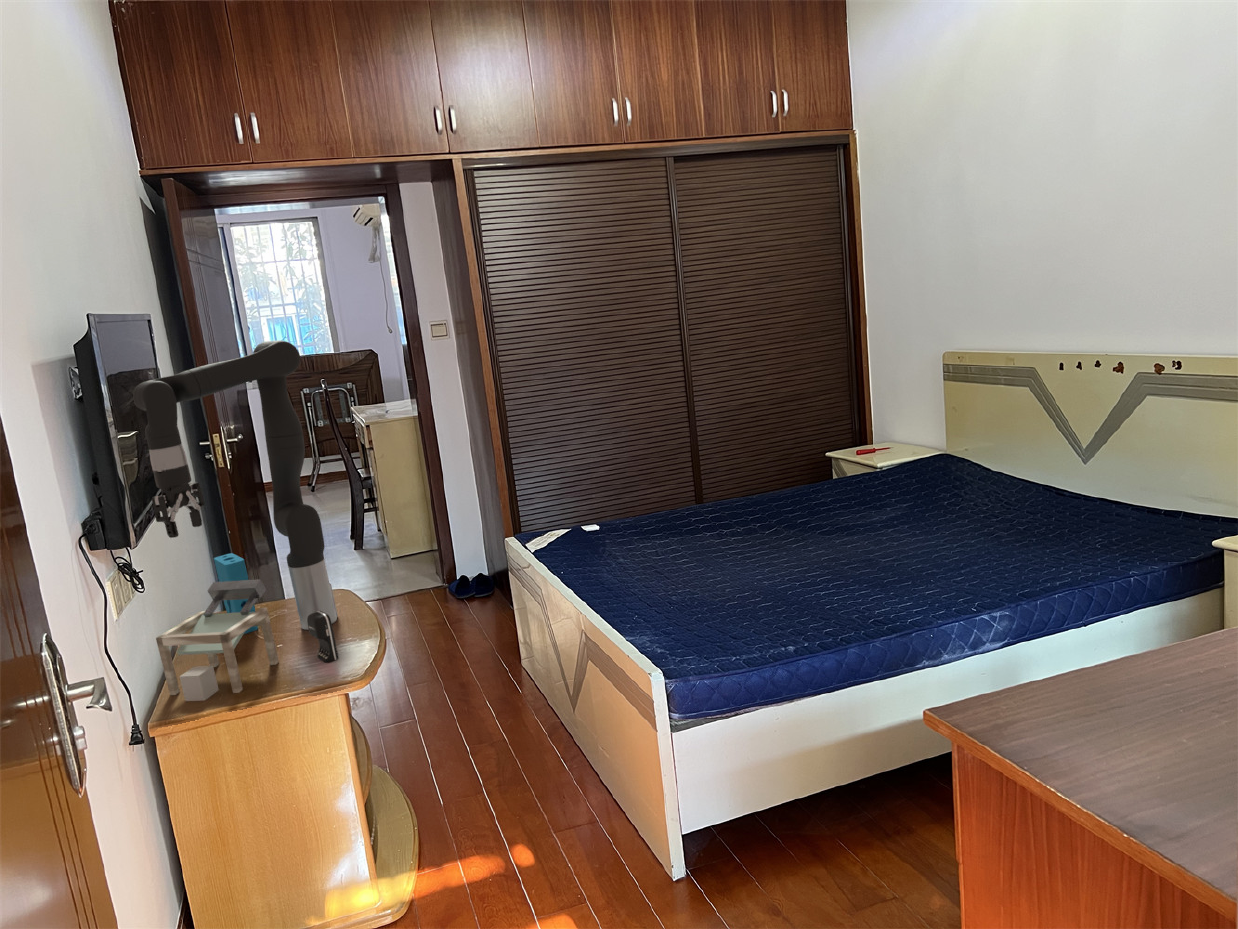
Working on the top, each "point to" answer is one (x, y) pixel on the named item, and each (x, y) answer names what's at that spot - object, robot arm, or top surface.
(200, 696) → the stone block
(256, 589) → the trapdoor
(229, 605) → the block
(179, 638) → the trapdoor frame
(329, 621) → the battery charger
